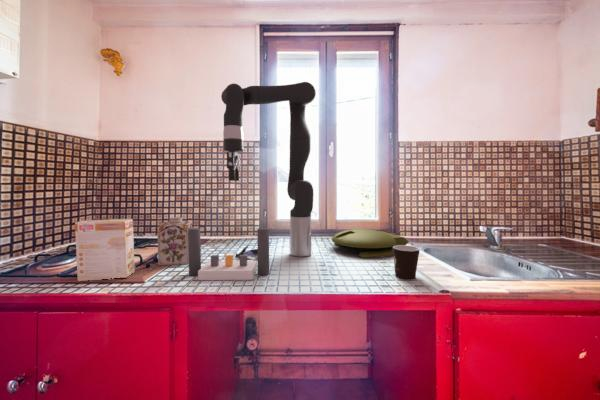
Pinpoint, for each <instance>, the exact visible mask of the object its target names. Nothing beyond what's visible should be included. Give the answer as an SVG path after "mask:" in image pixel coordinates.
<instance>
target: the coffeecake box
mask: <svg viewBox="0 0 600 400" xmlns="http://www.w3.org/2000/svg"><path fill="white" fill-rule="evenodd" d="M74 230H75V231H74V232H75V233H74V234H75V249H76V250H75V253H76V255H75V256H76V273H77V274H76V275H77V282H87V281H88V280H89V281H103V280H102V279H108V280H115V279H114V278H120V277H127V276H129V275H131V274H132V273H133V274H135V273H134V272H135V271H136V269H135V268H136V267H135V245H134V221H133V218H125V219H124V218H122V219H121V218H120V219H117V218H115V219H114V218H113V219H111V218H110V219H84V220H81V221H76V222H75V223H74ZM133 274H132V275H133ZM132 275H131V276H132ZM129 277H130V276H129ZM111 278H112V279H111Z"/></svg>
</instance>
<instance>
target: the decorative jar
mask: <svg viewBox="0 0 600 400" xmlns="http://www.w3.org/2000/svg"><path fill="white" fill-rule="evenodd" d="M192 228H195V227H194V225H193V223H192V221H187V220H183V217H180V216H179V217H169V221H165V222H162V223H160V224H159V227H158V229H157V232H156V234H157V265H158V266H159V265H161V266H177V265H178V266H179V265H189V250H188V229H192Z"/></svg>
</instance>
